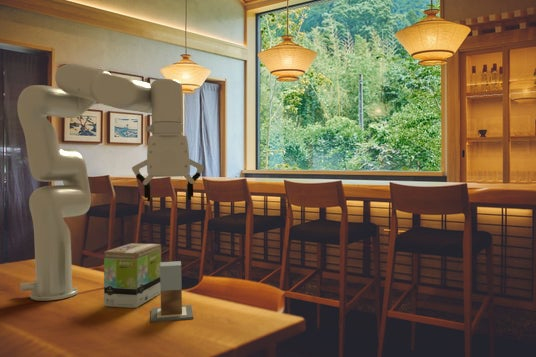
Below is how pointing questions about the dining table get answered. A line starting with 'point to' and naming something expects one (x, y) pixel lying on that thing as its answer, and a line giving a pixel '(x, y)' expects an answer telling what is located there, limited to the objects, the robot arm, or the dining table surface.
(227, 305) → the dining table surface
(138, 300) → the tea box
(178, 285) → the blue-grey block
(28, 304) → the dining table surface
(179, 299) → the walnut block
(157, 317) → the slate mat
